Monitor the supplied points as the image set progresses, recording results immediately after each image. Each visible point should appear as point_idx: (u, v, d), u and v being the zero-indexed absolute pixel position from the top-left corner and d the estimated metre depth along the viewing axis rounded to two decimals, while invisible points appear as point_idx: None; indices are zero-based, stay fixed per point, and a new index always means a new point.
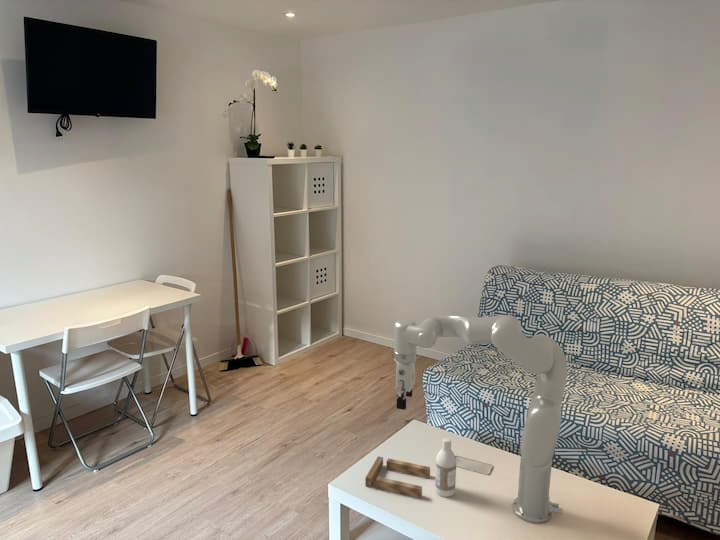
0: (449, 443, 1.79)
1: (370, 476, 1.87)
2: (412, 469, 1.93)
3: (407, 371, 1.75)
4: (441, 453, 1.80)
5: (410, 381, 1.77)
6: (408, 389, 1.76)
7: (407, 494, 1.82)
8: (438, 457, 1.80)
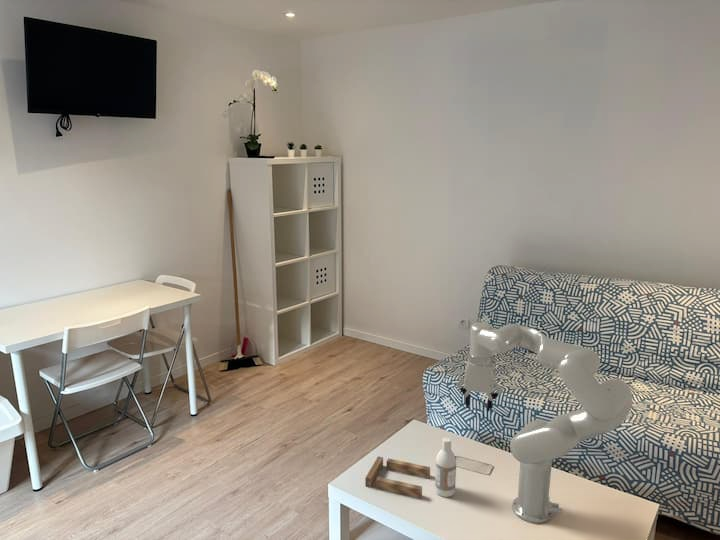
0: (449, 443, 1.79)
1: (370, 476, 1.87)
2: (412, 469, 1.93)
3: None
4: (441, 453, 1.80)
5: None
6: None
7: (407, 494, 1.82)
8: (438, 457, 1.80)
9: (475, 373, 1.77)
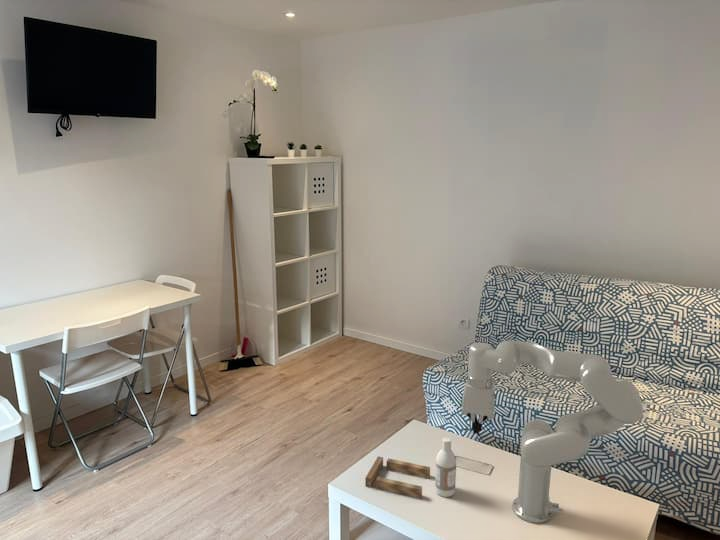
0: (449, 443, 1.79)
1: (370, 476, 1.87)
2: (412, 469, 1.93)
3: None
4: (441, 453, 1.80)
5: None
6: None
7: (407, 494, 1.82)
8: (438, 457, 1.80)
9: (473, 395, 1.70)
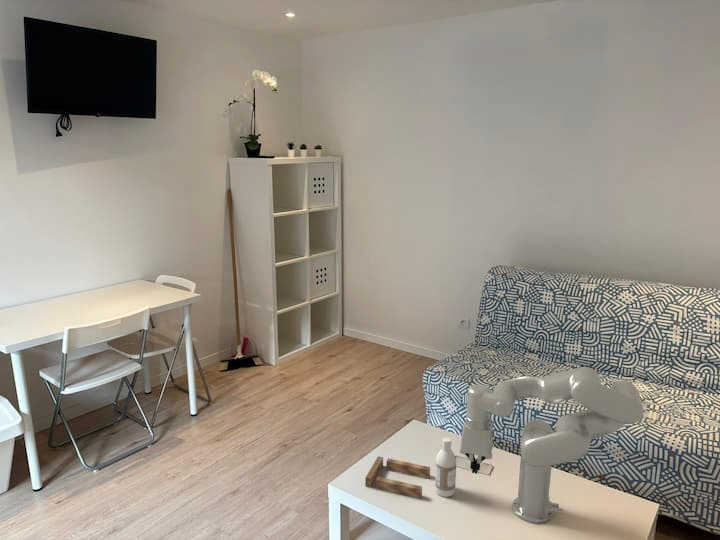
0: (449, 443, 1.79)
1: (370, 476, 1.87)
2: (412, 469, 1.93)
3: None
4: (441, 453, 1.80)
5: None
6: None
7: (407, 494, 1.82)
8: (438, 457, 1.80)
9: (471, 436, 1.74)
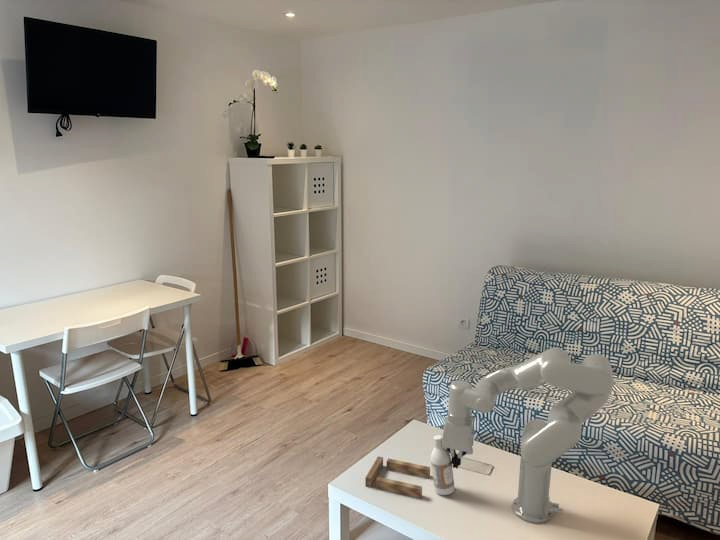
0: (440, 440, 1.80)
1: (370, 476, 1.87)
2: (412, 469, 1.93)
3: None
4: (434, 451, 1.81)
5: None
6: None
7: (407, 494, 1.82)
8: (432, 456, 1.81)
9: (453, 431, 1.76)
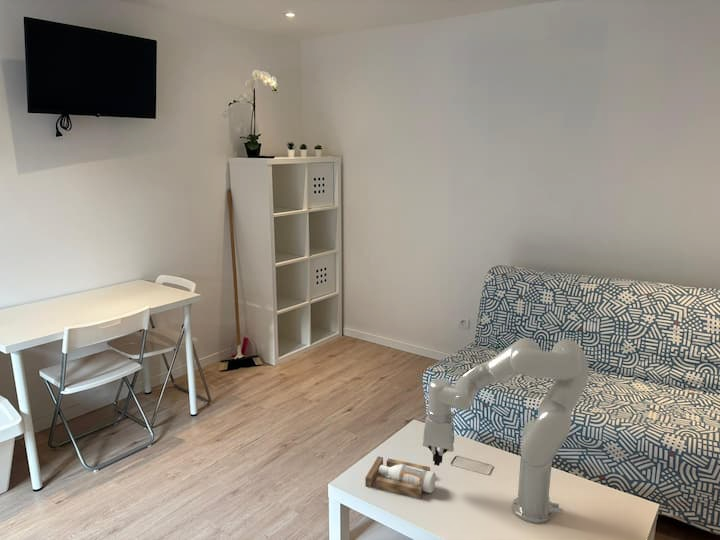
0: (380, 470, 1.90)
1: (370, 476, 1.87)
2: None
3: (453, 424, 1.80)
4: None
5: None
6: None
7: (407, 494, 1.82)
8: None
9: (433, 429, 1.78)
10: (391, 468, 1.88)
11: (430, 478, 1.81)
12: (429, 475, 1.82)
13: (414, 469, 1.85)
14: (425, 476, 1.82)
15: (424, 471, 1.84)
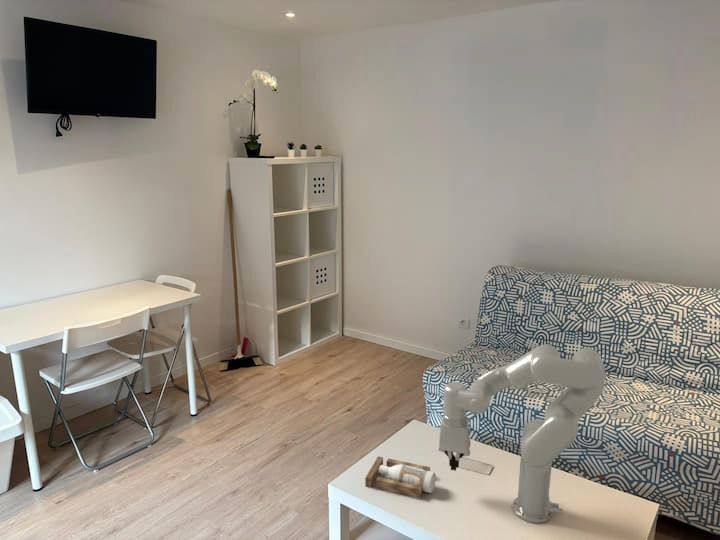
0: (380, 470, 1.90)
1: (370, 476, 1.87)
2: None
3: (469, 428, 1.78)
4: None
5: None
6: None
7: (407, 494, 1.82)
8: None
9: (449, 434, 1.76)
10: (391, 468, 1.88)
11: (430, 478, 1.81)
12: (429, 475, 1.82)
13: (414, 469, 1.85)
14: (425, 476, 1.82)
15: (424, 471, 1.84)
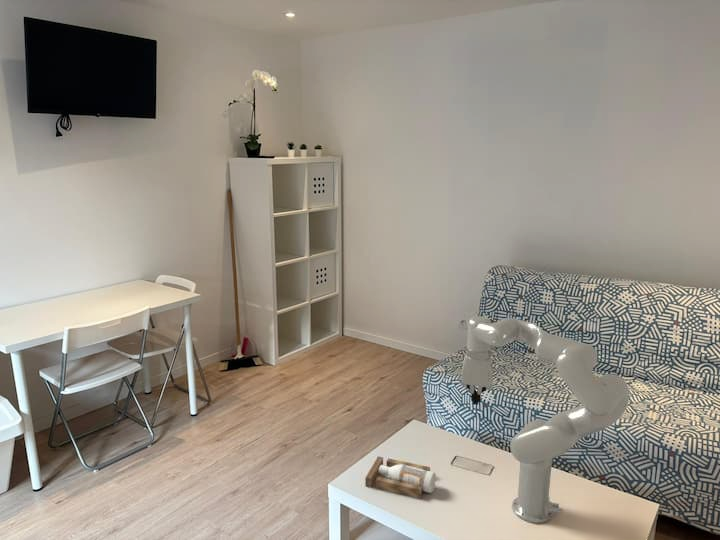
0: (380, 470, 1.90)
1: (370, 476, 1.87)
2: None
3: None
4: None
5: None
6: None
7: (407, 494, 1.82)
8: None
9: (472, 367, 1.77)
10: (391, 468, 1.88)
11: (430, 478, 1.81)
12: (429, 475, 1.82)
13: (414, 469, 1.85)
14: (425, 476, 1.82)
15: (424, 471, 1.84)
